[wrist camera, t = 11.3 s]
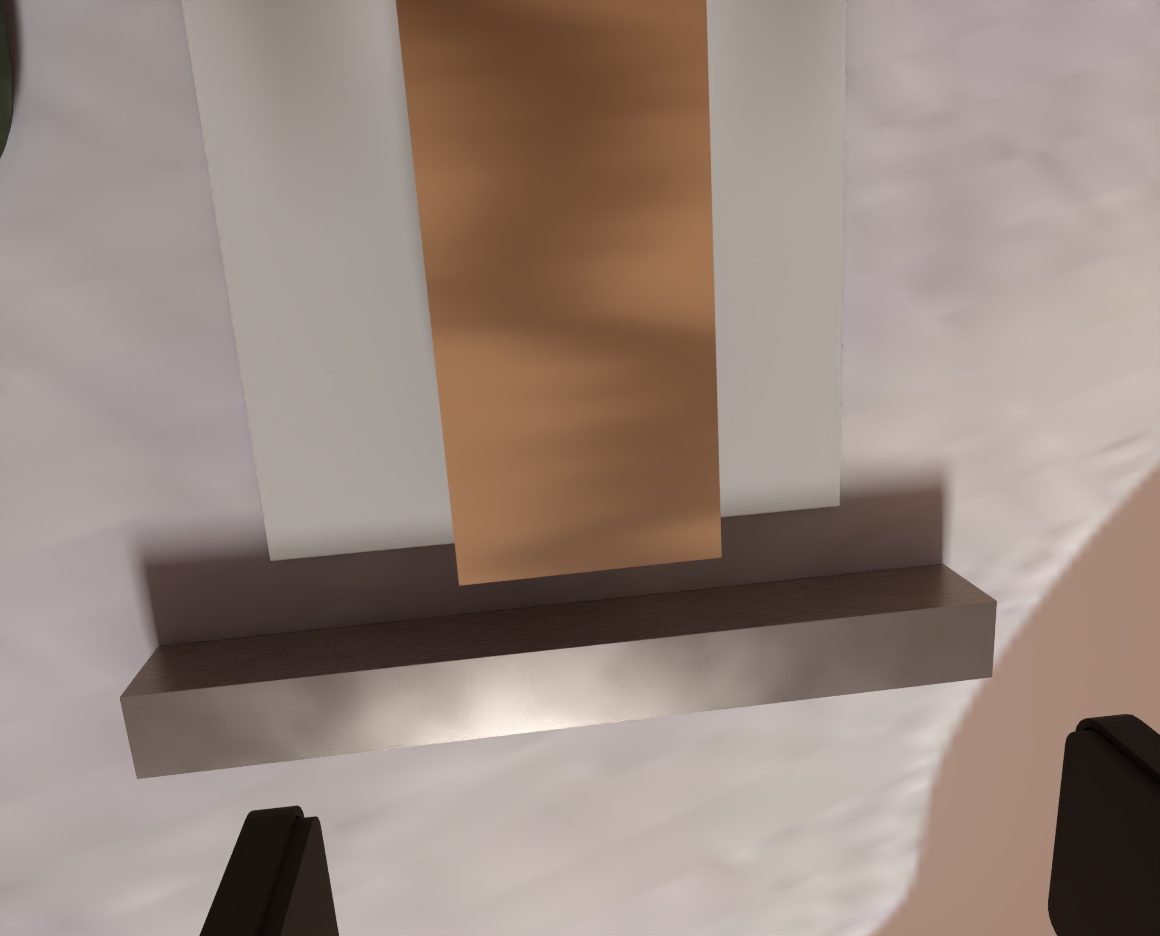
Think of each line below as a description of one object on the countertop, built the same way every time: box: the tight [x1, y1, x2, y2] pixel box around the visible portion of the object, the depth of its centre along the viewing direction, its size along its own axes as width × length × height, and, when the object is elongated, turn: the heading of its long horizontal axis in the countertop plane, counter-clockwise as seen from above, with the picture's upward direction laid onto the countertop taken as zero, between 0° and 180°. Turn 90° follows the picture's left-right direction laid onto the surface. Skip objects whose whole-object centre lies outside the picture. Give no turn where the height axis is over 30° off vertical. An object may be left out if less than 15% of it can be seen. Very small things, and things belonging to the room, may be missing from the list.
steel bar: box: [120, 564, 997, 779], centre depth 22 cm, size 20×2×2 cm, turn 94°
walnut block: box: [396, 0, 722, 586], centre depth 18 cm, size 5×5×10 cm
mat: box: [181, 0, 847, 561], centre depth 20 cm, size 14×16×1 cm
